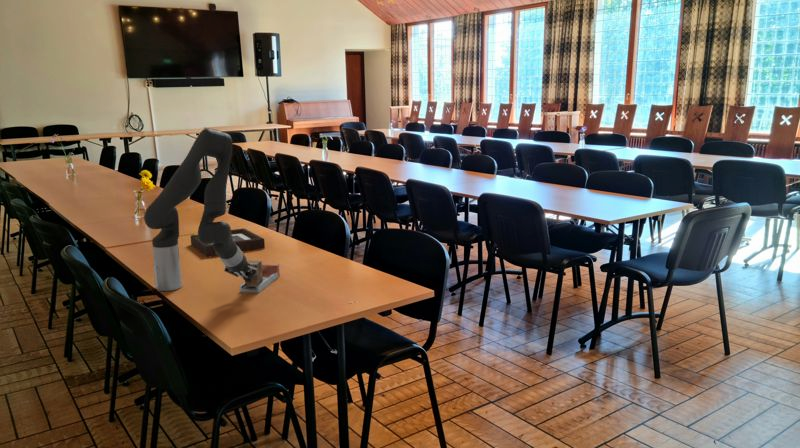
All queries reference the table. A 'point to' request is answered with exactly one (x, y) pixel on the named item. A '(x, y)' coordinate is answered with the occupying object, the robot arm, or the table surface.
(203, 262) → the table surface
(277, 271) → the track
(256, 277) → the slider block
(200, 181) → the robot arm
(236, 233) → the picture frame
